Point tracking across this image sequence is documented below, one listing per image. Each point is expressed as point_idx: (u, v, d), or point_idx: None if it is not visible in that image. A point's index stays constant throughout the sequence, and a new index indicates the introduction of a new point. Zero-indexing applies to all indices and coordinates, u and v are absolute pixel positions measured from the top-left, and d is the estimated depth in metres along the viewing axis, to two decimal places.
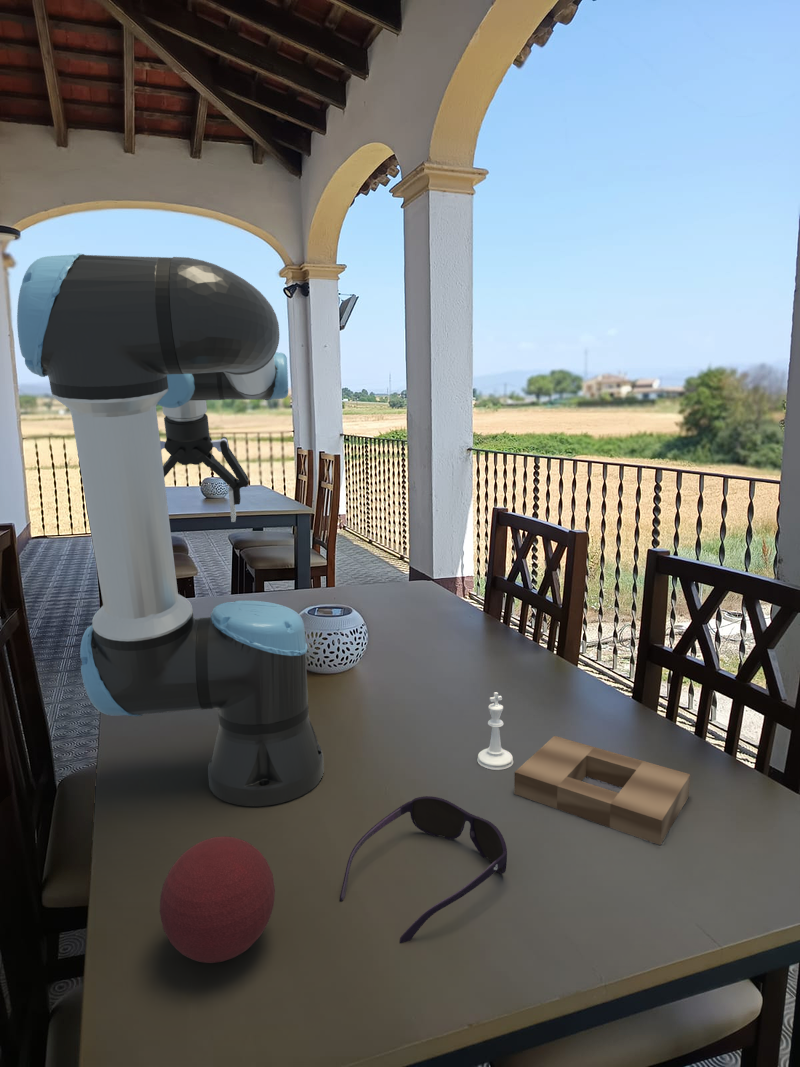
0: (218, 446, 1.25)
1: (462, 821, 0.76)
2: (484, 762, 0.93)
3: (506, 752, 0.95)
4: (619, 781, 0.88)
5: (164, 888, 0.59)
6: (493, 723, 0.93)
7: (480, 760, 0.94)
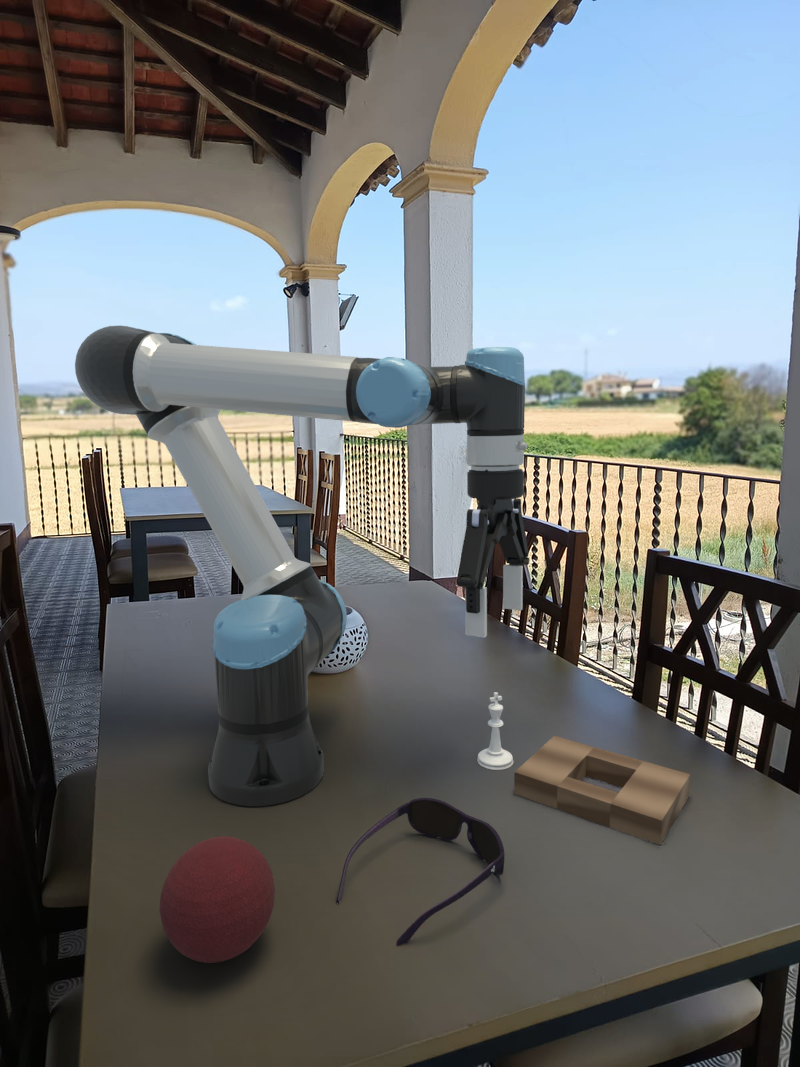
0: None
1: (459, 822, 0.76)
2: (484, 762, 0.93)
3: (506, 752, 0.95)
4: (619, 781, 0.88)
5: (164, 888, 0.59)
6: (493, 723, 0.93)
7: (480, 760, 0.94)
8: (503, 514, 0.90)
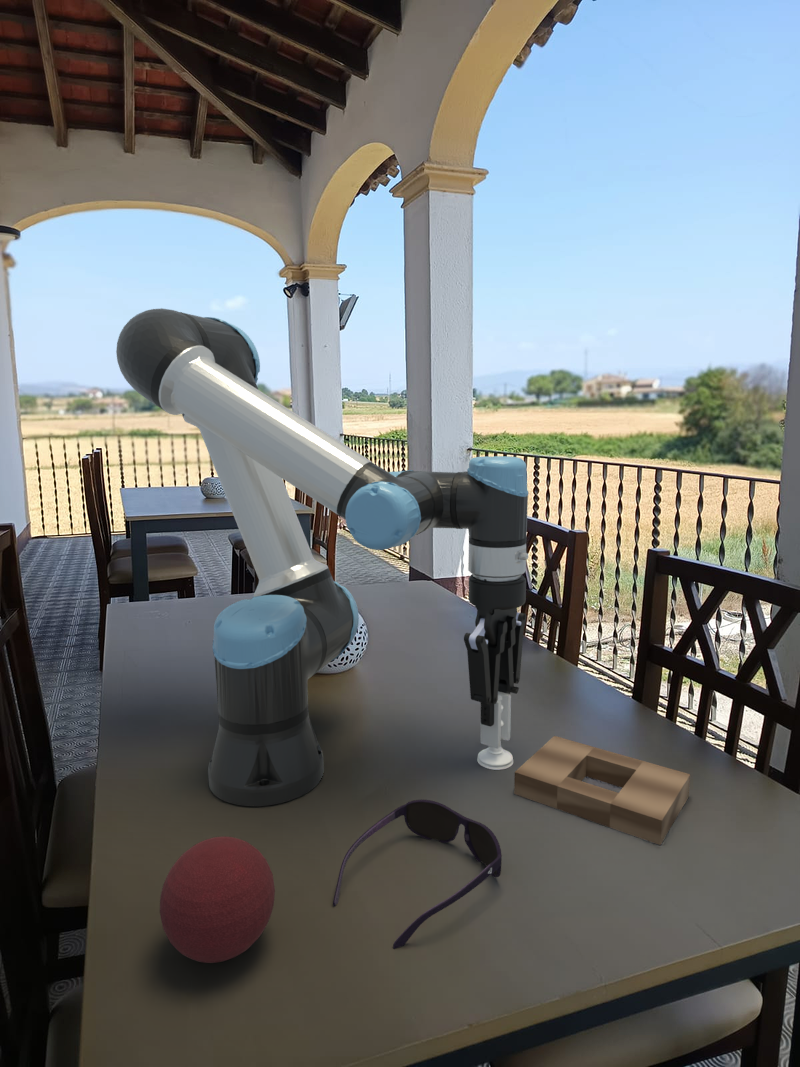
0: None
1: (456, 824, 0.76)
2: (484, 762, 0.93)
3: (506, 752, 0.95)
4: (619, 781, 0.88)
5: (164, 888, 0.59)
6: None
7: (480, 760, 0.94)
8: (501, 625, 0.89)
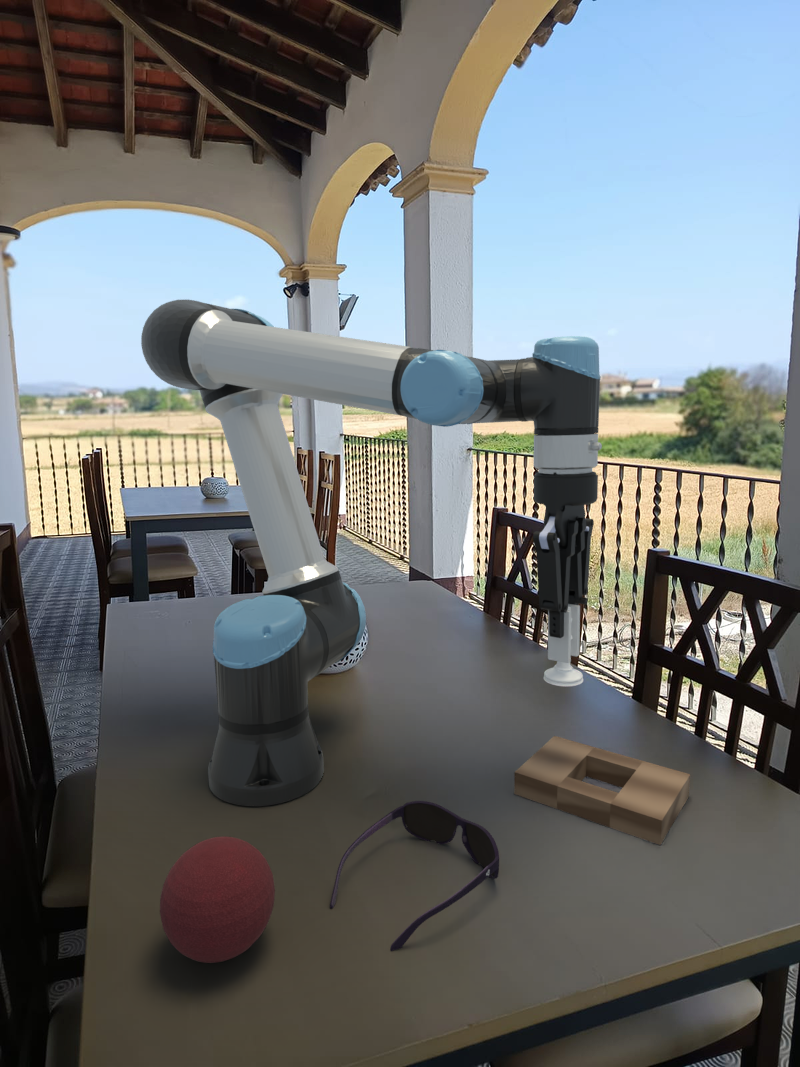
0: None
1: (454, 826, 0.75)
2: (552, 679, 0.85)
3: (575, 669, 0.87)
4: (619, 781, 0.88)
5: (164, 888, 0.59)
6: None
7: (547, 677, 0.86)
8: (573, 524, 0.81)
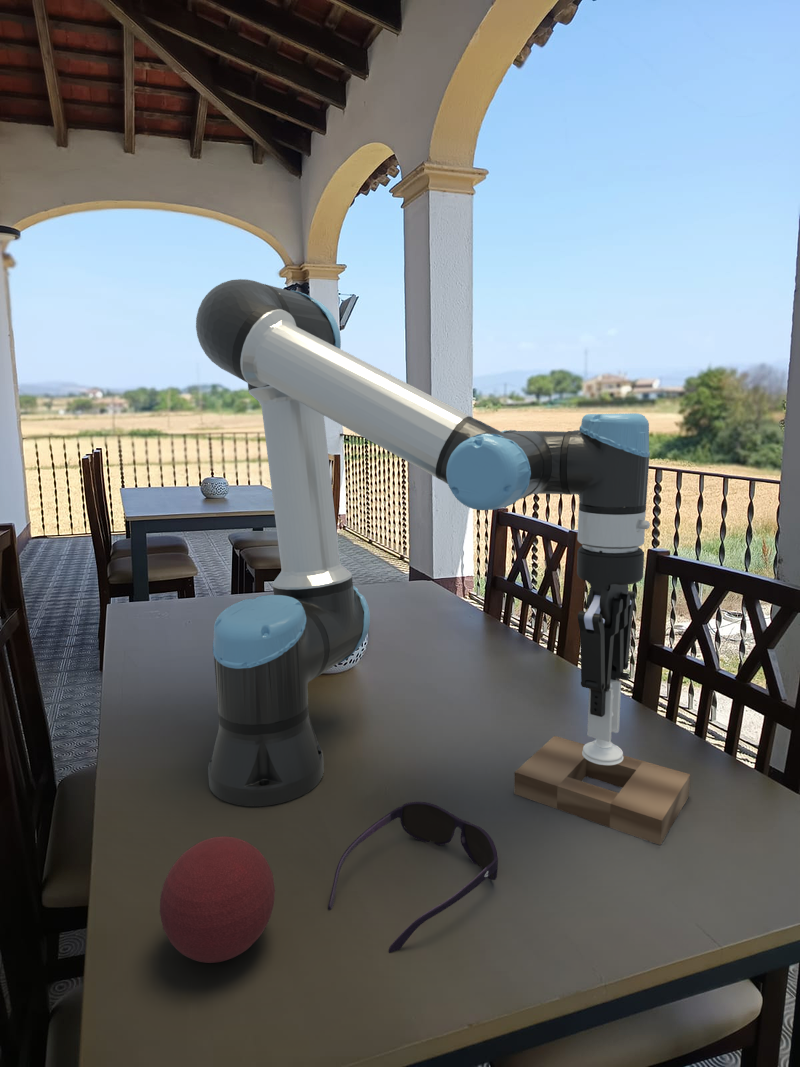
0: None
1: (453, 827, 0.75)
2: (592, 757, 0.83)
3: (614, 746, 0.85)
4: (619, 781, 0.88)
5: (164, 888, 0.59)
6: None
7: (587, 754, 0.84)
8: (618, 603, 0.79)
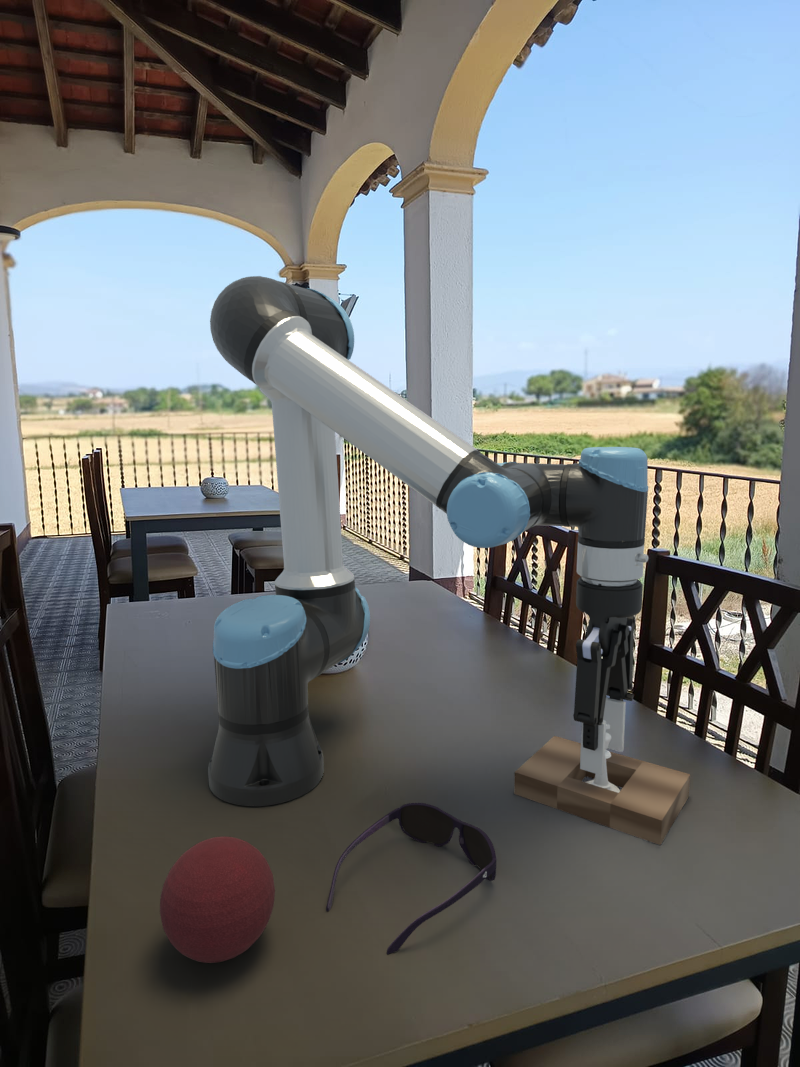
0: None
1: (451, 827, 0.75)
2: None
3: (612, 785, 0.86)
4: (619, 781, 0.88)
5: (164, 888, 0.59)
6: None
7: None
8: (617, 634, 0.80)
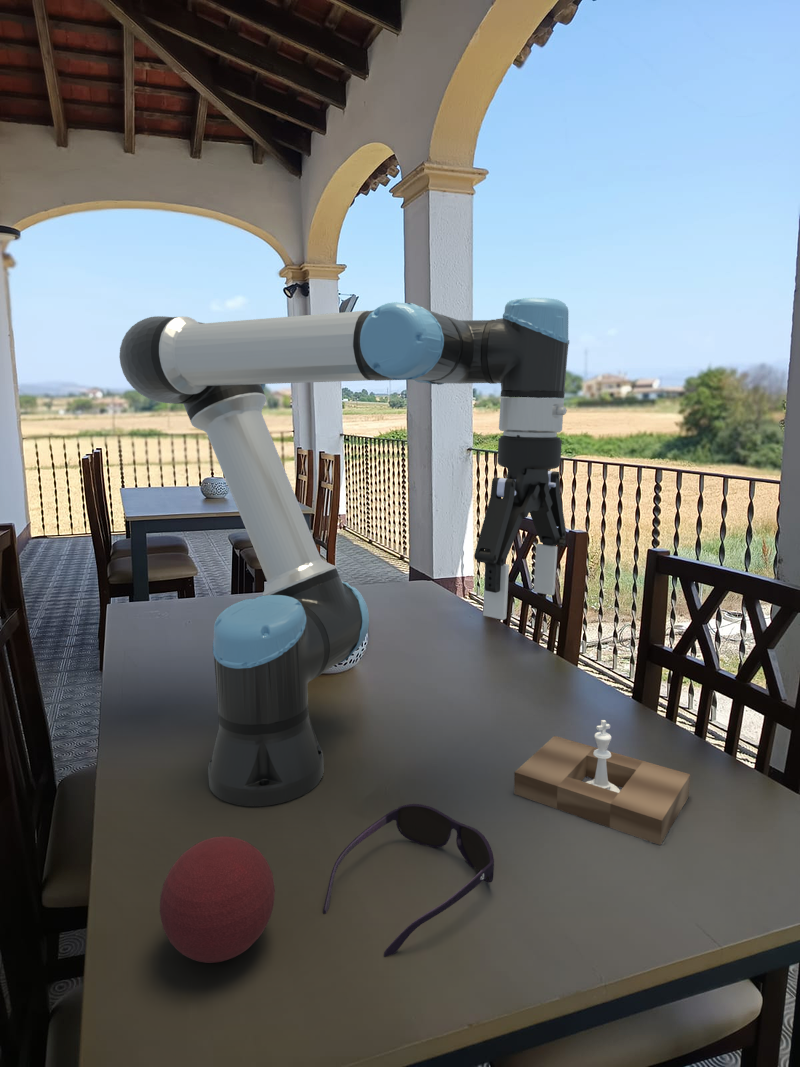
0: None
1: (449, 829, 0.75)
2: None
3: (612, 785, 0.86)
4: (619, 781, 0.88)
5: (164, 888, 0.59)
6: (600, 754, 0.84)
7: None
8: (534, 486, 0.81)
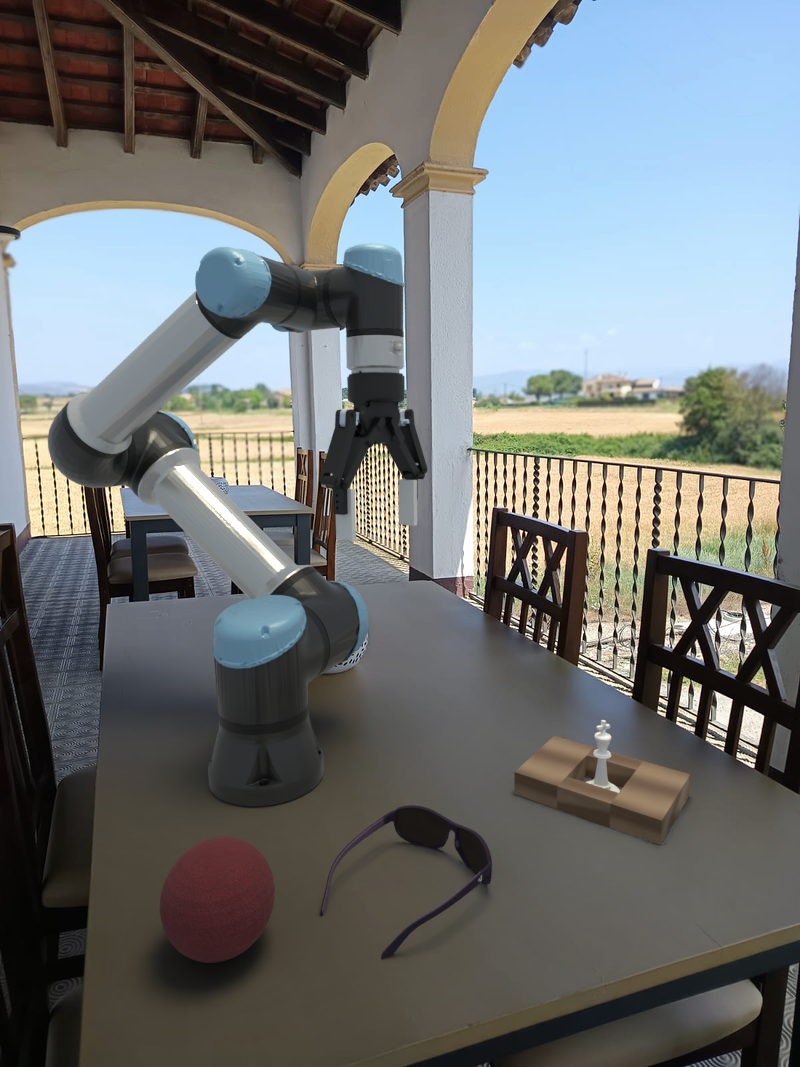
0: None
1: (446, 830, 0.75)
2: None
3: (612, 785, 0.86)
4: (619, 781, 0.88)
5: (164, 888, 0.59)
6: (600, 754, 0.84)
7: None
8: (379, 418, 0.88)
